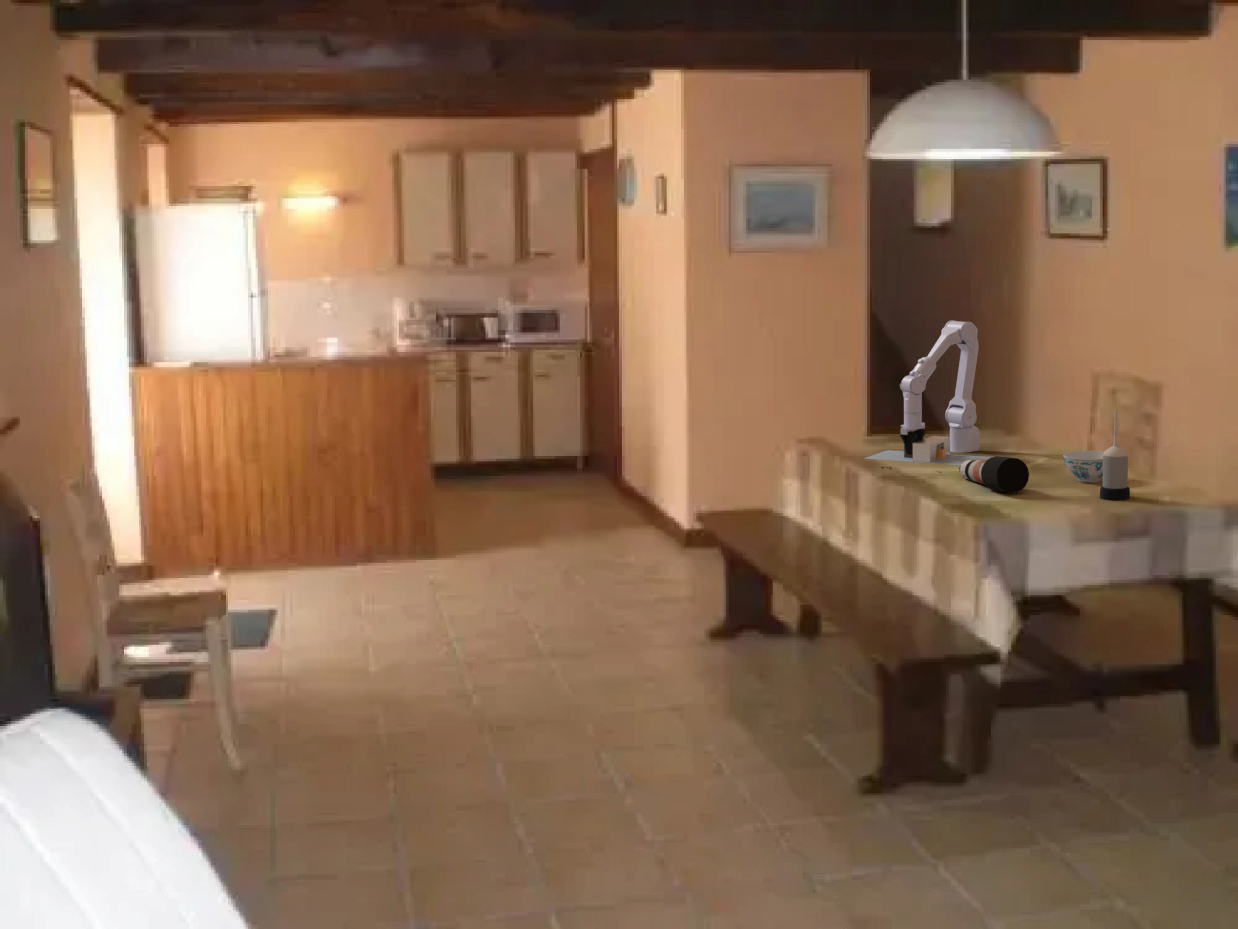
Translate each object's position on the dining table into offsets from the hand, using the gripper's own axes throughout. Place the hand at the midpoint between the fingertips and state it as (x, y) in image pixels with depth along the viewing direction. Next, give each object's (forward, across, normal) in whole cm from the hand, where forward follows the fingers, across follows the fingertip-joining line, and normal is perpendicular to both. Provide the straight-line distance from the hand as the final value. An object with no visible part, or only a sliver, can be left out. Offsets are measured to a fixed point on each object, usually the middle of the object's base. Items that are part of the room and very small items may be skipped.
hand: (913, 453), depth 511 cm
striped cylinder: (+2, +33, +39) cm, 51 cm away
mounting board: (+2, 0, +6) cm, 6 cm away
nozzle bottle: (+2, +36, +78) cm, 86 cm away
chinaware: (+2, +14, +63) cm, 65 cm away
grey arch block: (+2, 0, +6) cm, 7 cm away
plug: (+1, 0, +4) cm, 4 cm away
